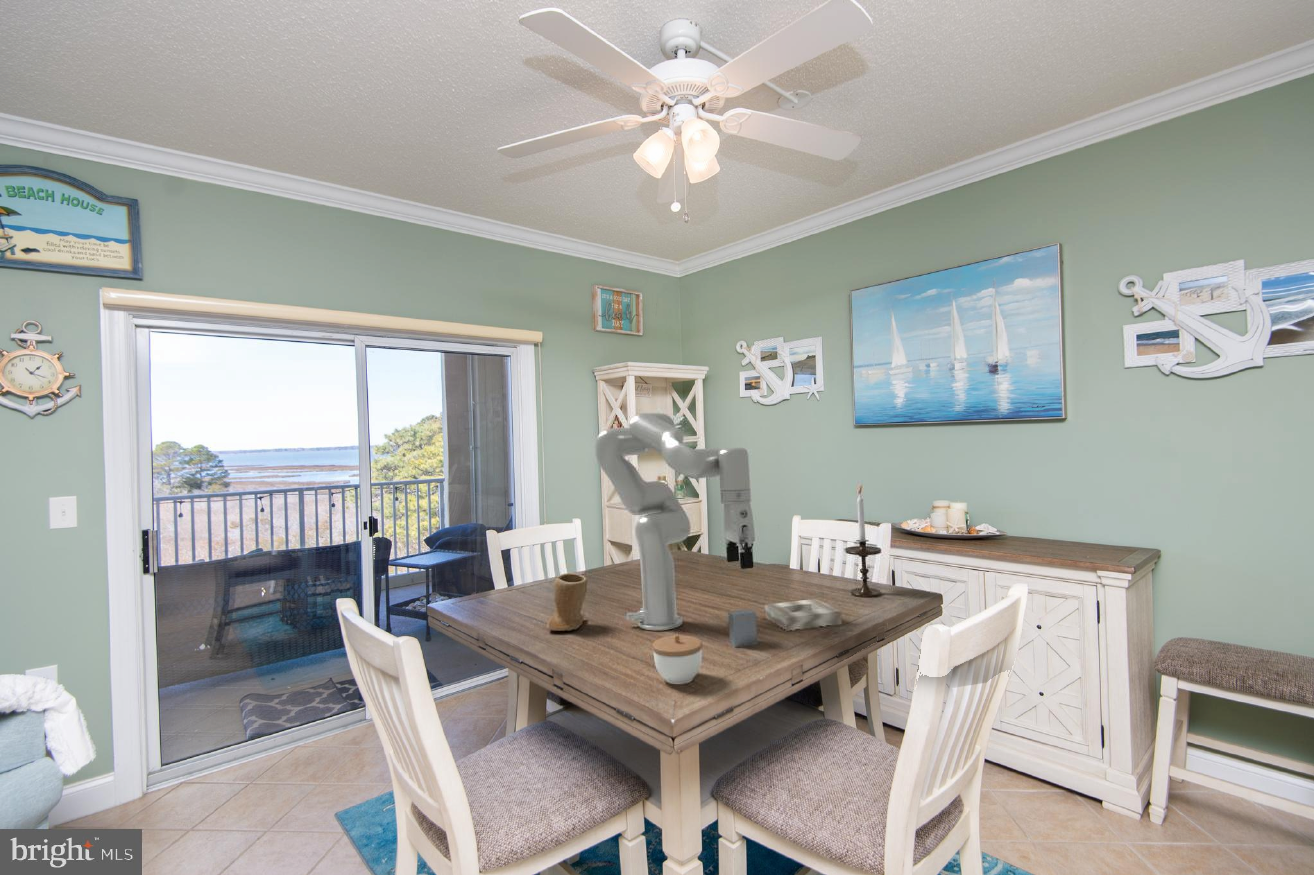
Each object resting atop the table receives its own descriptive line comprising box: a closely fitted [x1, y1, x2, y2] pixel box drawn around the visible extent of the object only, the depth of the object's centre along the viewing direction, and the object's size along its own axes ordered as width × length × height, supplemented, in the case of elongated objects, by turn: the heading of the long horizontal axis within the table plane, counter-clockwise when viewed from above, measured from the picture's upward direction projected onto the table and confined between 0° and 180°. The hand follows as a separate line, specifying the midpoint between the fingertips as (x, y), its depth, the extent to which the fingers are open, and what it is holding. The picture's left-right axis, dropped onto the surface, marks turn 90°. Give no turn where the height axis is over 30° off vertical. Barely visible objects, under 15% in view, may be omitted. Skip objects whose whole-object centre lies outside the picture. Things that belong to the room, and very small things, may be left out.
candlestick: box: [844, 484, 882, 599], centre depth 189 cm, size 11×11×35 cm
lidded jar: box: [652, 634, 703, 685], centre depth 128 cm, size 11×11×9 cm
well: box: [764, 598, 842, 632], centre depth 164 cm, size 16×14×4 cm
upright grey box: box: [727, 608, 758, 648], centre depth 148 cm, size 6×4×8 cm, turn 103°
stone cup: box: [546, 572, 588, 632], centre depth 171 cm, size 15×12×15 cm
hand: (739, 564), depth 148 cm, fingers open, 9 cm apart
